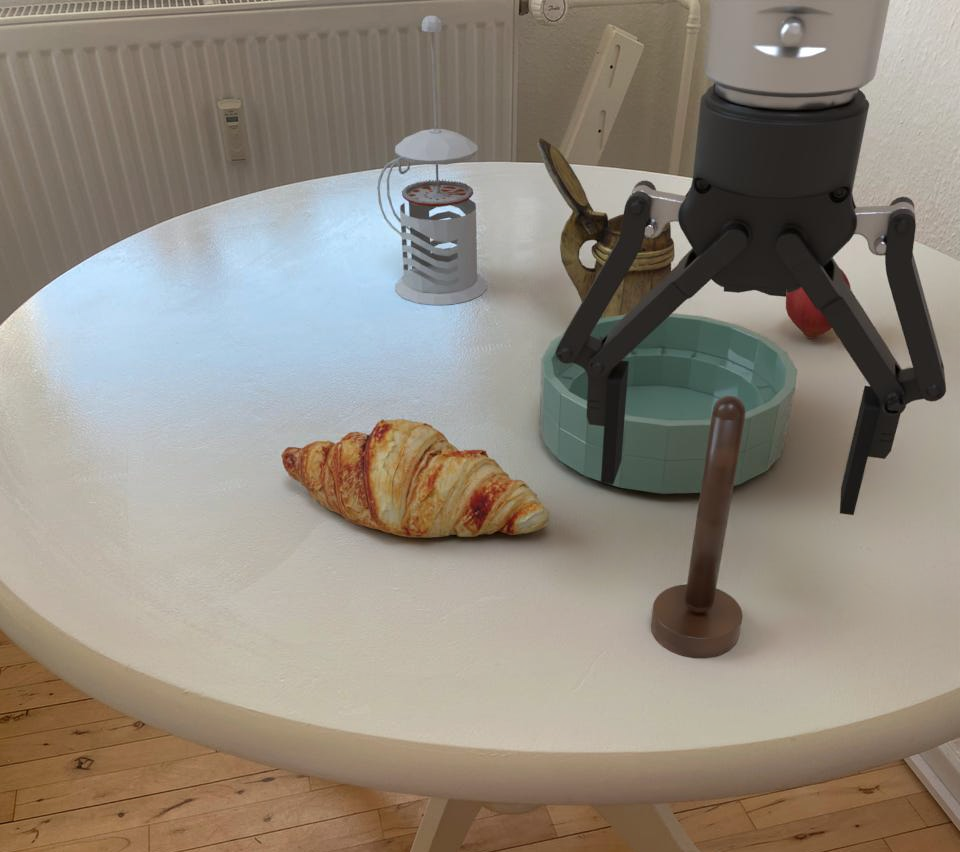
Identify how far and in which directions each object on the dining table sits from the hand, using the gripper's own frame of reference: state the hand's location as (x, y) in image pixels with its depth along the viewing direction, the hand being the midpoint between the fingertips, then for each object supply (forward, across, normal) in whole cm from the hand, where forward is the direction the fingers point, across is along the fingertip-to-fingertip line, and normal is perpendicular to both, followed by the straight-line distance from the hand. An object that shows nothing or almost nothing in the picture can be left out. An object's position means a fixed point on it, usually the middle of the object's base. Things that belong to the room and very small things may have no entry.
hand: (726, 487), depth 62 cm
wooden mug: (+11, -14, +40) cm, 44 cm away
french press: (+10, -34, +49) cm, 61 cm away
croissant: (+10, -22, +7) cm, 26 cm away
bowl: (+10, -6, +23) cm, 26 cm away
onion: (+11, +5, +46) cm, 48 cm away
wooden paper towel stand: (+10, -1, -1) cm, 10 cm away
